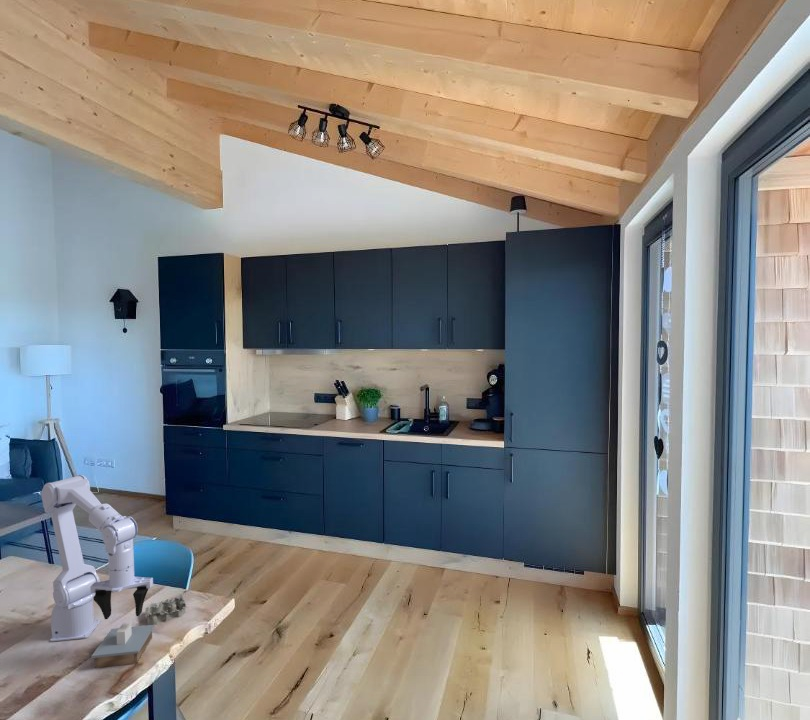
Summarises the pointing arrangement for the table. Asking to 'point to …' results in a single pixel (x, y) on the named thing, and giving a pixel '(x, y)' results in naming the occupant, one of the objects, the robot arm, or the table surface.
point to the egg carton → (156, 608)
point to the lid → (123, 640)
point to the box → (122, 657)
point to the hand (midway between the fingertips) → (123, 615)
